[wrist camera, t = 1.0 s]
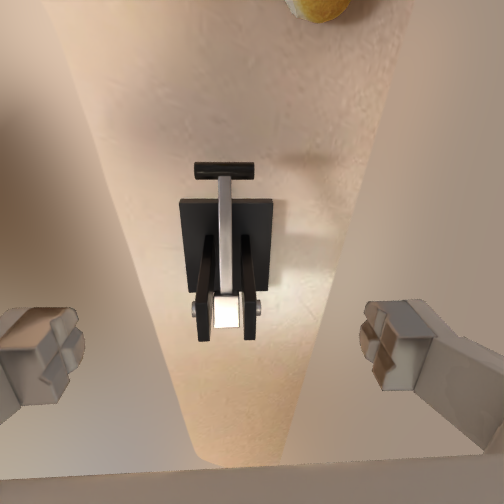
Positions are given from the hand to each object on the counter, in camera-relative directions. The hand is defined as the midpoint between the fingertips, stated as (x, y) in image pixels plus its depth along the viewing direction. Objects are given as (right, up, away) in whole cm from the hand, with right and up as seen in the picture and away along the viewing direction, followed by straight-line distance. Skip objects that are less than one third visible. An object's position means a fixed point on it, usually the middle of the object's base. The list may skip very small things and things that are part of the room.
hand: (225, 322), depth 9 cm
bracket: (-2, +3, +28) cm, 28 cm away
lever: (-2, +3, +19) cm, 19 cm away
